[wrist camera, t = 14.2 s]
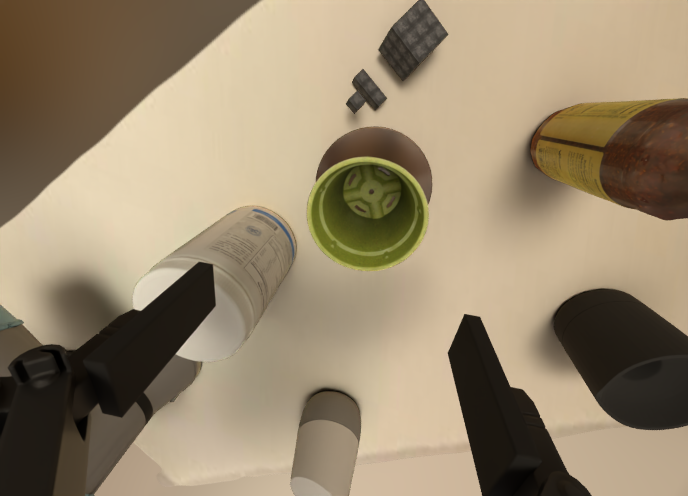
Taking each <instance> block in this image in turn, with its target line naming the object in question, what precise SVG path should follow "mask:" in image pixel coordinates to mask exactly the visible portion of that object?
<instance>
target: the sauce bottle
mask: <svg viewBox="0 0 688 496" xmlns="http://www.w3.org/2000/svg"><path fill="white" fill-rule="evenodd" d="M531 155H532V160H533V162H534V165H535V166H536V168H538V169H539V170H540V171H542V172H543V173H545V174H546V175H547V176H549V177H550V178H552V179H555V180H557V181H560V182H562V183H565V184H568V185H570V186H572V187H575V188H577V189H580V190H582V191H585V192H587V193H590V194H592V195H595V196H597V197H600V198H603V199H605V200H608V201H611V202H613V203H616V204H618V205H621V206H623V207H627V208H631V209H637V210H639V211H641V212H644V213H646V214H649V215H652V216H655V217H658V218H660V219H663V220H674V219H683V218H688V99H687V98H681V99H661V100H644V101H626V102H601V103H583V104H578V105H575V106H572V107H569V108H566V109H564V110H560V111H557V112H555V113H554V114H552V115H551V116H550V117H549V118H548V119H547V120H545V121H544V122H543V124H542V125H541V126H540V128H539V129H538V130H537V132H536V134H535V135H534V137H533V139H532V143H531Z"/></svg>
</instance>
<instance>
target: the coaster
mask: <svg viewBox="0 0 688 496" xmlns="http://www.w3.org/2000/svg"><path fill="white" fill-rule="evenodd" d="M355 157H376V158H381V159H385V160H388V161H391V162H393V163H395V164H397V165H399V166H401V167H402V168H404V169H405V170H407V171H408V172H409V173H410V174H411V175H412V176H413V177H414V178H415V179H416V180H417V182H418V183H419V184H420V186H421V188H422V189H423V192H424V194H425V196H426V200H427V204H429V201H430V197H431V193H432V175H431V170H430V167H429V164H428V161H427V159H426V157H425V155H424V154H423V152H422V151H421V149H420V148H419V147H418V146H417V145H416V144H415V143H414V142H413V141H412V140H411V139H410V138H408V137H407V136H405V135H404V134H402V133H400V132H398V131H395V130H393V129H389V128H385V127H365V128H360V129H357V130H354V131H351V132H349V133H347V134H345V135H344V136H342V137H341V138H339V139H338V140H337V141H336V142H334V143H333V144H332V145H331V146H330V148H329V149H328V150H327V151H326V153H325V154H324V156H323V158H322V160H321V162H320V164H319V167H318V171H317V176H316V182H317V180H318V179H319V178H320V177H321V176H322V175H323V173H325V172H326V171H327V170H328V169H329V168H331V167H332V166H334V165H336V164H337V163H339V162H342V161H344V160H347V159H351V158H355ZM378 170H379V171H382V172H384V173H385V174H386V175H387V176H389V175H390V173H389V172H388V171H387V170H385V169H384V168H382V167H379V168H378ZM355 177H356V174H353V175H352V176H351V178H350V180H349V183H348V184H349V186H350V185H351V183H352V181H353V179H354V178H355ZM369 193H370V194H373V193H374V190H373V189H371V190H370V191H369ZM394 200H395V197H394V196H393V197H392V199H391V201H390V202H389V203H388V205H387V207H390V206H391V205H392V203H393V201H394ZM355 208H356V209H357V210H359V211H361V212H366V211H364V209H362V208H360V207H359V206H358V205H355Z"/></svg>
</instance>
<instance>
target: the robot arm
mask: <svg viewBox="0 0 688 496" xmlns="http://www.w3.org/2000/svg"><path fill="white" fill-rule="evenodd" d="M215 306H216V299H215V285H214V271H213V264H209V263H204V262H198V263H197V264H195V265H194V266H193V267H192V268H191V269H190V270H188V271H187V272H186V273H185V274H184V275H183V276H181V277H180V278H179V279H178V280H177V281H175V282H174V283H173V284H172V285H171V286H170V287H168V288H167V289H166V290H165V291H164V292H162V293H161V294H160V295H159V296H158V297H157V298H155V299H154V300H153V301H152V302H151V303H150V304H148V305H147V306H146V307H145V308H144V309H142V310H141V311H140V310H135V309H133V310H131V311H129V312H127V313H124V314H122V315H120V316H119V317H117V318H116V319H115V320H114V321H112V322H111V323H110V324H109V325H108V327H107V326H106V327H105V328H104V329H102V330H101V331H100V332H99V334H96V335H95V336H94V337H92V338H91V339H90V340H89V341H87V342H86V343H85V344H84V345H82V346H81V347H80V348H79V349H77V350H76V351H75V352H73V351H65V348H63V347H62V346H60V345H53V344H51V345H42V344H41V343H40V342H39V341H38V340H37V339H36V338H35V337H34V336H33V335H32V334H31V333H30V332H29V331H28V330H27V329H26V328H25V327H24V326H23V325H22V324H23V323H24V322H23V321H22V320H18V319H16V318H15V317H14V316H13V315H12V314H10V313H9V312H8V311H7V310H6V309H5V308H4V307H2V306H1V305H0V496H94V494H95V492H96V491H97V490H98V488H99V487H100V486H101V484H102V482H104V480H105V479H106V477H107V476H108V475H109V473H110V472H111V471H112V469H113V468H114V467H115V465H116V464H117V463H118V461H119V460H120V459H121V457H122V456H123V455H124V453H125V452H126V451H127V449H128V448H129V446H130V445H131V444H132V443H133V441H134V440H135V439H136V437H137V436H138V435H139V433H140V432H141V431H142V429H143V428H144V427H145V425H146V424H147V423H148V421H149V420H150V419H151V417H152V416H153V415H154V414H155V413H156V412H157V411H158V410H159V409H161V408H162V407H163V406H165V405H166V404H167V403H168V402H174V401H175V399H176V398H177V396H178V395H179V394H180V393H181V392H182V391H184V390H185V389H186V388H187V387H188V386H190V385H191V384H192V382H193V381H194V379H195V378H196V377H197V375H198V374H199V372H200V369H201V362H200V361H194V360H189V359H186V358H183V357H181V356H178V355H176V353H177V352H178V351H179V349H180V348H181V347H182V346H183V345H184V343H185V342H186V341H187V340H188V339H189V337H190V336H191V335H192V334H193V333H194V331H195V330H196V329H197V328H198V327H199V325H200V324H201V323H202V322H203V321H204V319H205V318H206V317H207V316H208V315H209V314H210V312H211V311H212V310H213V309H214V308H215ZM448 356H449V360H450V364H451V368H452V373H453V377H454V381H455V385H456V389H457V393H458V397H459V401H460V406H461V410H462V414H463V418H464V422H465V426H466V430H467V434H468V439H469V443H470V447H471V451H472V455H473V459H474V463H475V467H476V471H477V476H478V480H479V484H480V488H481V492H482V496H591V494H590V493H589V491H588V490H587V489H586V488H585V487H584V486H583V485H582V484H581V483H580V482H579V481H578V480H577V479H575V478H574V477H572V476H570V475H569V473H568V472H567V470H566V468H565V466H564V464H563V462H562V460H561V458H560V456H559V454H558V451H557V450H556V447H555V445H554V443H553V441H552V439H551V437H550V435H549V433H548V431H547V429H545V425H544V423H543V421H542V419H541V418H540V415H539V412H538V410H537V408H536V406H535V404H534V402H533V401H532V400H531V399H530V398H529V396H528V395H527V394H526V393H525V392H524V391H523V390H522V389H517V388H513V387H510V385H509V383H508V380H507V378H506V376H505V374H504V371H503V369H502V367H501V364H500V362H499V360H498V357H497V355H496V353H495V350H494V348H493V346H492V344H491V341H490V339H489V337H488V334H487V332H486V330H485V327H484V325H483V323H482V320H481V318H480V317H477V316H472V315H467V314H464V317H463V319H462V321H461V324H460V326H459V328H458V331H457V333H456V335H455V338H454V340H453V342H452V345H451V347H450V349H449V352H448Z"/></svg>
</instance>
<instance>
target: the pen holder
mask: <svg viewBox="0 0 688 496" xmlns="http://www.w3.org/2000/svg"><path fill="white" fill-rule="evenodd" d="M554 330H555V333H556V335H557V337H558V339H559V341H560V342H561V344H562V345H563V347H564V349H565V351H566V352H567V354H568V355H569V357H570V359H571V360H572V362H573V364H574V365H575V367H576V368H577V370H578V372H579V373H580V375H581V376H582V378H583V380H584V381H585V383H586V385H587V386H588V388H589V389H590V391H591V393H592V394H593V396H594V397H595V399H596V401H597V402H598V404H599V405H600V406H601V407H602V409H603V410H604V411H605V412H606V413H607V414H608V415H610V416H611V417H612V418H613V419H615V420H616V421H618V422H620V423H621V424H623V425H626V426H629V427H632V428H636V429H644V430H664V429H673V428H679V427H683V426H687V425H688V336H687V335H685V334H684V333H683V332H681V331H680V330H679V329H677V328H676V327H675V326H673V325H672V324H671V323H669V322H668V321H666V320H665V319H664V318H662V317H661V316H660V315H658V314H657V313H656V312H654V311H653V310H652V309H650V308H649V307H647V306H646V305H645V304H643V303H642V302H640V301H639V300H638V299H636V298H635V297H633V296H631V295H630V294H627V293H625V292H622V291H618V290H610V289H603V290H593V291H589V292H585V293H582V294H580V295H578V296H576V297H574V298H572V299H571V300H569V301H568V302H566V303H565V304H564V305H563V306H562V307H561V309H560V310H559V311H558V313H557V315H556V317H555V321H554Z"/></svg>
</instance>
